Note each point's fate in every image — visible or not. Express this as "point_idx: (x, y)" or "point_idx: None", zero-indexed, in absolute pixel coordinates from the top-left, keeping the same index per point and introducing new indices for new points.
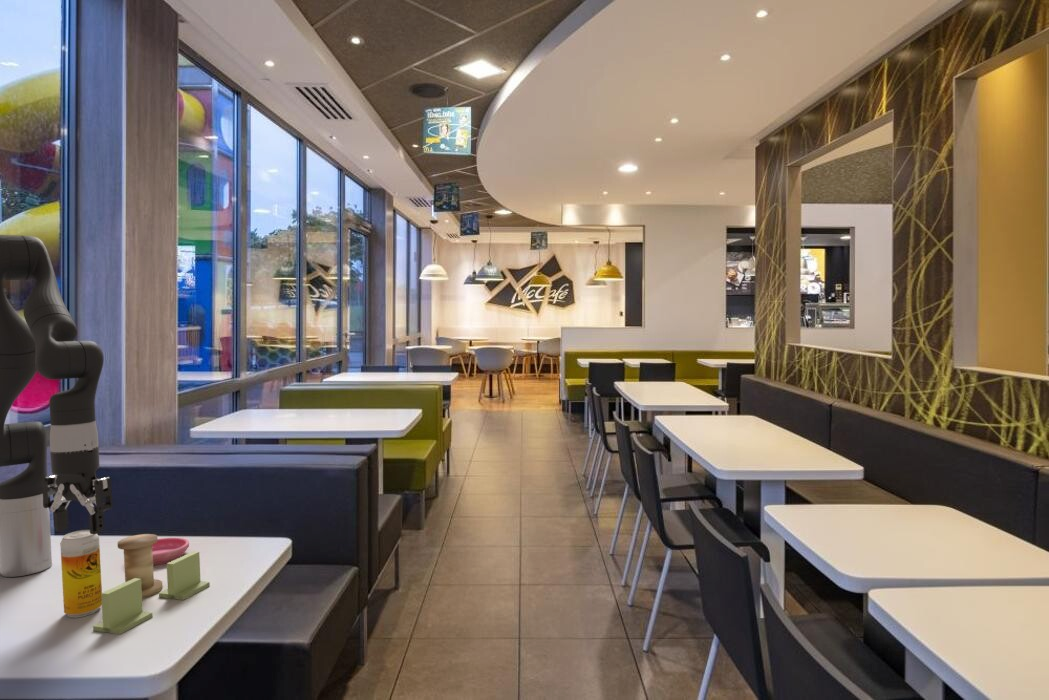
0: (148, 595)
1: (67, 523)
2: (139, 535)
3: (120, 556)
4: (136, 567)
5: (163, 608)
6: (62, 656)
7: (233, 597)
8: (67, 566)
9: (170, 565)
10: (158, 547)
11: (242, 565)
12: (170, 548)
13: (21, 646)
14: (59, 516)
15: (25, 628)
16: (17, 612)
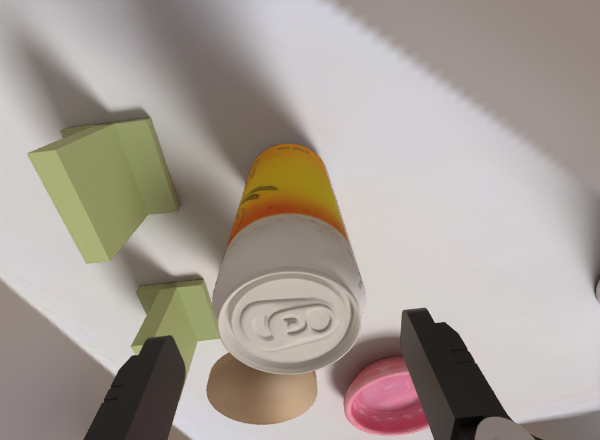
0: None
1: (408, 369)
2: (296, 410)
3: (481, 366)
4: None
5: (133, 248)
6: None
7: (62, 321)
8: (274, 198)
9: (140, 342)
10: None
11: (203, 402)
12: (401, 408)
13: None
14: (436, 394)
15: (336, 59)
16: (453, 117)
